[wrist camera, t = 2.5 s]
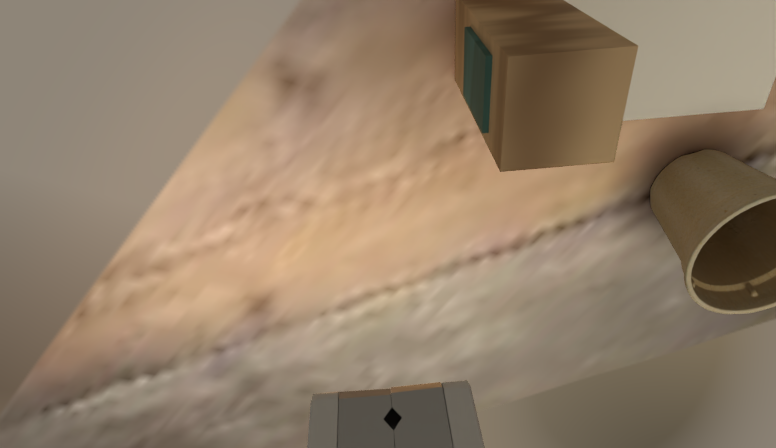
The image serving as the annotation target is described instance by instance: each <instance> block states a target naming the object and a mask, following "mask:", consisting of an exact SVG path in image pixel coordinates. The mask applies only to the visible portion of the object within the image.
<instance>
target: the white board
mask: <svg viewBox="0 0 776 448" xmlns="http://www.w3.org/2000/svg"><path fill="white" fill-rule="evenodd" d="M564 1H566V2H567V3H569V4H571V5H572V6H574V7H576V8H577V9H579V10H581V11H582V12H584V13H585V14H587V15H589V16H590V17H592V18H594V19H595V20H597V21H599V22H600V23H602V24H603V25H605V26H607V27H608V28H610V29H612V30H613V31H615V32H617V33H618V34H620V35H621V36H623V37H625V38H626V39H628V40H630V41H631V42H633V43H635V44H636V45H638V50H637V55H636V59H635V64H634V69H633V74H632V78H631V83H630V88H629V93H628V97H627V102H626V107H625V112H624V116H623V121H627V120H639V119H651V118H663V117H675V116H687V115H698V114H710V113H722V112H734V111H746V110H757V109H764V106H765V104H766V101H767V98H768V96H769V93H770V90H771V88H772V85H773V82H774V80H775V77H776V0H564Z"/></svg>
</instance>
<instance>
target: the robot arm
mask: <svg viewBox="0 0 776 448" xmlns="http://www.w3.org/2000/svg"><path fill="white" fill-rule="evenodd" d="M307 448H485V447H484V443H483V439H482V434H481V430H480V426H479V421H478V417H477V413H476V409H475V404H474V400H473V396H472V391H471V387H470V384H469V383H468V381H467V380H464V381H455V382H445V383H441V382H437V383H428V384H418V385H409V386H399V387H391V389H390V388H389V389H374V390H359V391H345V392H330V393H319V394H313V397H312V400H311V407H310V420H309V433H308V445H307Z"/></svg>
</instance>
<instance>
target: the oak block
mask: <svg viewBox="0 0 776 448" xmlns="http://www.w3.org/2000/svg"><path fill="white" fill-rule="evenodd" d="M637 50H638V45H636V44H635V43H633V42H631V41H630V40H628V39H626V38H625V37H623V36H621V35H620V34H618V33H617V32H615V31H613V30H612V29H610V28H608V27H607V26H605V25H603V24H602V23H600V22H599V21H597V20H595V19H594V18H592V17H590V16H589V15H587V14H585V13H584V12H582V11H581V10H579V9H577V8H576V7H574V6H572V5H571V4H569V3H567V2H566V1H564V0H456V23H455V81H456V83H457V85H458V87H459V89H460V91H461V93H462V95H463V97H464V99H465V101H466V103H467V105H468V107H469V109H470V111H471V113H472V115H473V117H474V119H475V121H476V123H477V125H478V127H479V129H480V131H481V134H482V136H483V138H484V140H485V142H486V144H487V146H488V148H489V150H490V152H491V154H492V156H493V158H494V160H495V162H496V164H497V166H498V168H499V170H500V172H503V171H515V170H526V169H538V168H550V167H562V166H573V165H585V164H597V163H609V162H614V159H615V154H616V150H617V145H618V140H619V135H620V131H621V126H622V121H623V116H624V112H625V107H626V102H627V97H628V93H629V88H630V83H631V78H632V74H633V69H634V64H635V59H636V55H637Z"/></svg>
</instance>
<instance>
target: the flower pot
mask: <svg viewBox="0 0 776 448" xmlns="http://www.w3.org/2000/svg"><path fill="white" fill-rule="evenodd" d="M650 204H651V209H652V211H653V213H654V214H655V216H656V217H657V219H658V221H659V223H660V225H661V226H662V228H663V230H664V232H665V233H666V235H667V237H668V239H669V240H670V242H671V244H672V246H673V247H674V249H675V251H676V253H677V255H678V256H679V258H680V260H681V264H682V270H683V272H684V281H685V286H686V288H687V291H688V293H689V295H690V296H691V298H692V299H693V300H694V301H695V302H696V303H697V304H699V305H700V306H701V307H703V308H705V309H707V310H709V311H713V312H717V313H722V314H746V313H753V312H757V311H761V310H765V309H768V308H771V307H774V306H776V179H775V178H773V177H771V176H768V175H766V174H764V173H762V172H760V171H758V170H756V169H754V168H752V167H750V166H748V165H746V164H744V163H742V162H741V161H739V160H737V159H735V158H733V157H731V156H729V155H727V154H726V153H724V152H721V151H717V150H709V149H705V150H701V151H699V152H696V153H693V154H689V155H684V156H681V157H679V158H677V159H676V160H674V161H673V162H671V163H670V164H669V165H668V166H666V167H665V168H664V169H663V170H662V171H661V173H660V174H659V175H658V176H657V178H656V179H655V181H654V183H653V185H652V187H651V190H650Z"/></svg>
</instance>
